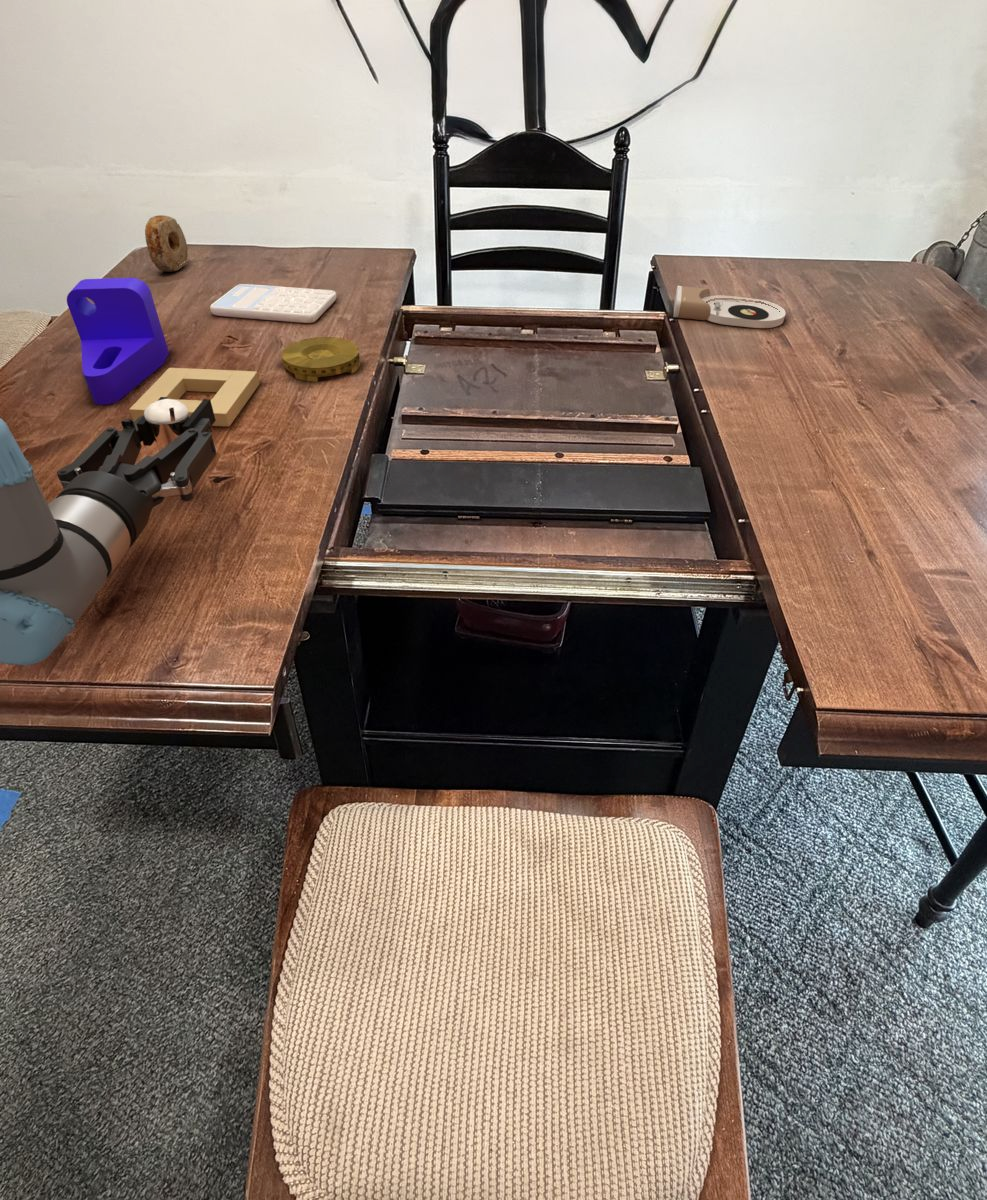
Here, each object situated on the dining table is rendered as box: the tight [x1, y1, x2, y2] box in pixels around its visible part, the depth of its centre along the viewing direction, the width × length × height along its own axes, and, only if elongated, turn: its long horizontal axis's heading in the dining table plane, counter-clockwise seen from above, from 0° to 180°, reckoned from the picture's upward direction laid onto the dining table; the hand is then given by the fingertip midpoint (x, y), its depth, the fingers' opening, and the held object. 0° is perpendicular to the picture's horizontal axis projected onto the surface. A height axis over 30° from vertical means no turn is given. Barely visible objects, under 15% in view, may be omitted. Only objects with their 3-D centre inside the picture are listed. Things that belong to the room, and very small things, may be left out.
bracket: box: [66, 277, 170, 406], centre depth 105 cm, size 18×11×12 cm, turn 7°
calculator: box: [209, 283, 338, 324], centre depth 132 cm, size 13×20×2 cm, turn 80°
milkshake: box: [144, 399, 189, 452], centre depth 80 cm, size 4×5×10 cm
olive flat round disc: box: [281, 336, 361, 382], centre depth 113 cm, size 12×12×2 cm
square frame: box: [128, 367, 261, 428], centre depth 103 cm, size 14×14×2 cm
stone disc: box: [144, 214, 189, 273], centre depth 144 cm, size 10×4×10 cm, turn 169°
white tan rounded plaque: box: [673, 285, 787, 329], centre depth 132 cm, size 12×3×20 cm
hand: (188, 408), depth 84 cm, fingers closed on milkshake, 4 cm apart
